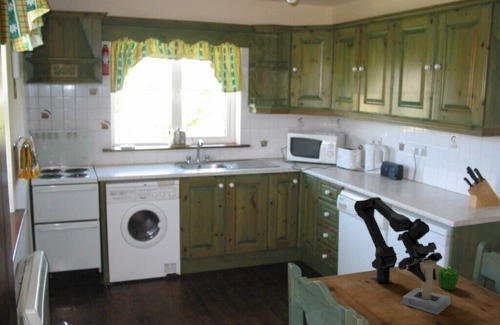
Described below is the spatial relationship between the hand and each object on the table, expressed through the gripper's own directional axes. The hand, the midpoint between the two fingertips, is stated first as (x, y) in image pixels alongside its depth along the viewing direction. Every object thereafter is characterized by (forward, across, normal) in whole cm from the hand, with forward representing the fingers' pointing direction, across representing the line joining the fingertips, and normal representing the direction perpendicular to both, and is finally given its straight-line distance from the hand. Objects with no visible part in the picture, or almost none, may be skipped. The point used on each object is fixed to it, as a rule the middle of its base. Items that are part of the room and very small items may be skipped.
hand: (430, 280), depth 197 cm
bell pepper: (0, +21, +15) cm, 25 cm away
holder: (+6, 0, +8) cm, 10 cm away
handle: (+5, 0, +7) cm, 8 cm away
